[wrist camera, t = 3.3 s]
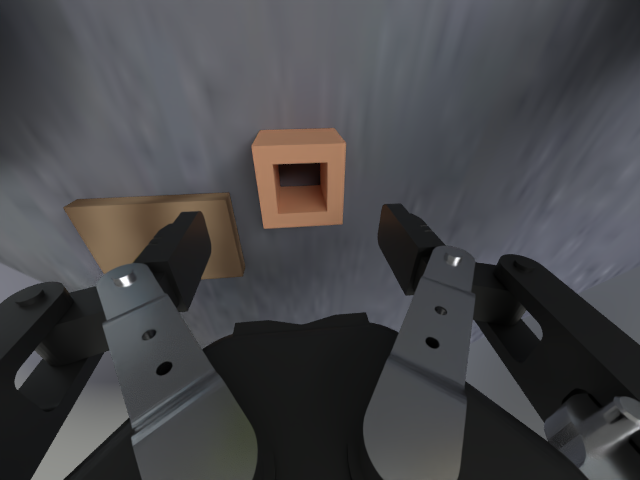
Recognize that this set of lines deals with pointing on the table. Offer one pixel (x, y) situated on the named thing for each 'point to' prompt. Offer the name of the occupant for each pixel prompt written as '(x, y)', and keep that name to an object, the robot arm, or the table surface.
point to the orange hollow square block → (300, 201)
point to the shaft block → (155, 228)
